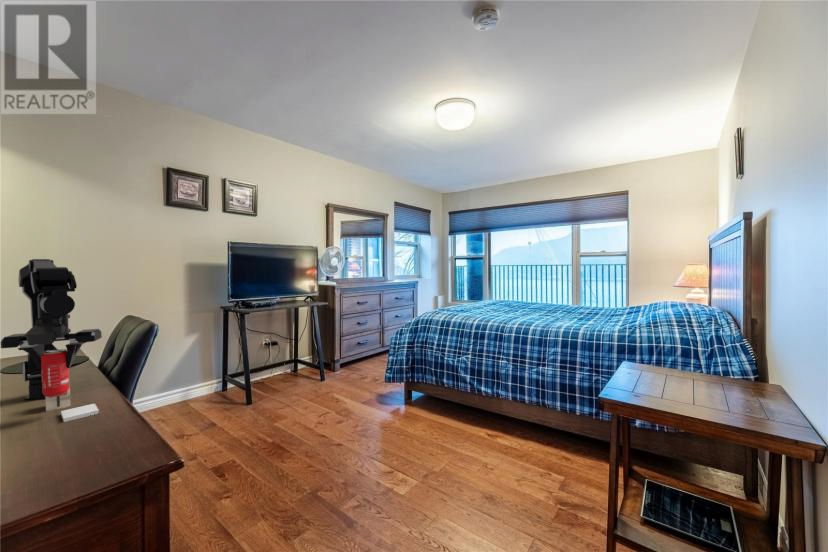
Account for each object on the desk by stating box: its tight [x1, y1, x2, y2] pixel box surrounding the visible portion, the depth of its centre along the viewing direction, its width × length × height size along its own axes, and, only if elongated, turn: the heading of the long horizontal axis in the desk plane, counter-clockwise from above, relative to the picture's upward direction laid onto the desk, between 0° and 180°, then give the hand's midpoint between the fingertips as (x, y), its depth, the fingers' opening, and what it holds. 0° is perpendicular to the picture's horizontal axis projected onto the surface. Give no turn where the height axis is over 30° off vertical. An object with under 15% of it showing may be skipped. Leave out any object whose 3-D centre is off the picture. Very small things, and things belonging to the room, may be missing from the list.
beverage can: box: [41, 348, 70, 397], centre depth 96 cm, size 5×5×12 cm
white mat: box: [60, 403, 100, 423], centre depth 97 cm, size 7×7×1 cm
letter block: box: [45, 385, 71, 412], centre depth 103 cm, size 5×5×5 cm
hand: (55, 368), depth 96 cm, fingers closed on beverage can, 5 cm apart
